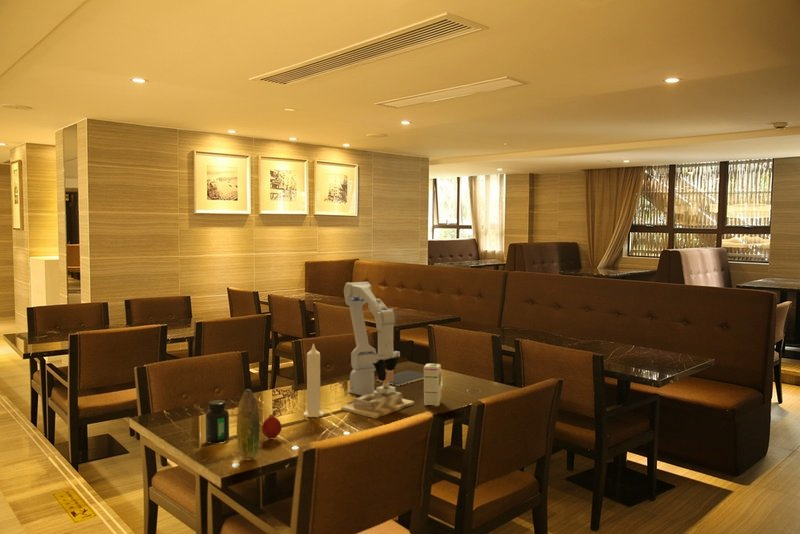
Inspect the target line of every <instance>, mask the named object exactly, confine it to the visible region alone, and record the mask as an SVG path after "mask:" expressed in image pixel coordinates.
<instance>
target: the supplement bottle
mask: <svg viewBox="0 0 800 534" xmlns="http://www.w3.org/2000/svg"><path fill="white" fill-rule="evenodd" d="M207 408H208V410H207V412H205V417H204V419H205V442H206V441H207V442H211V443H219V442H224V441H226V440H228V439H229V440H230V413H229V411H228V409H226V400H223V399H216V400H215V399H213V400H211V401H208V407H207ZM229 440H228V441H229ZM207 442H206V443H207Z"/></svg>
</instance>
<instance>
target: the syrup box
mask: <svg viewBox="0 0 800 534" xmlns="http://www.w3.org/2000/svg"><path fill="white" fill-rule="evenodd" d="M423 373H424V379H423V406H427V405H435V406H434V407H440V405H441V402H442V364H440V363H425V365H424V366H423Z"/></svg>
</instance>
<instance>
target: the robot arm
mask: <svg viewBox="0 0 800 534" xmlns="http://www.w3.org/2000/svg"><path fill="white" fill-rule="evenodd" d="M343 295H344V296H343V297H344V301H345V305H347V306H349V307H348V308H349V312H350V320H351V323H352V328H353V329H352V330H353V334H354V341H355V346H356V347H355V348H354V349H353V350H352V351H351V352H350V359H351V360H350V365H351V368H352V370H351V371H350V373H349V374H350V375H349V390H348V393H350V394H353V395H357V396H364V395H367V394H371V393H374V392H376V390H375V371H376V374H377V379H378V378H379V380H381V381H384V379H385V370H386V368H387V369H392V370H394V371H395V369H396V367H397V364H398V363H399V358H400V357H401V352H400V351H397V350H394V326H395V324H396V323H397V314H396V311H395V310H394V309H393V308H388V307H387V306H386V304H385V303H384V301H382V299H381V298H377V297H376V296H375V295H374V293H373V292H372V284H371V283H370V282H369V281H359V282H354V281H353V282H345V285H344V286H343ZM365 304H368V305H367V307H368V308H367V309H368V310H369V311H370V313H371V314H372V315H373V316H374V322H375V325H376V326H375V328H376V330H377V350H376V348H375V347H373V346H371V345H370V343H369V338H368V331H367V327H366V321H365V316H364V310H363V307H364V305H365Z"/></svg>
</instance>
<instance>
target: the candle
mask: <svg viewBox="0 0 800 534" xmlns="http://www.w3.org/2000/svg"><path fill="white" fill-rule="evenodd" d="M306 387H307V388H306V395H307V396H306V397H307V399H306V400H307V402H306V404H307V405H306V406H307V407H306V408H307V409H306V410H305V411H304V412H303V417H305V416H307V417H318V418H320V417H319V416H322V417H323V416H325V411H324V410H321V353H320V351H318V350H317V349H316V346H315V343H312V346H311V349H310V350H309V351H308V352H307V353H306ZM307 417H306V418H307Z"/></svg>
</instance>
